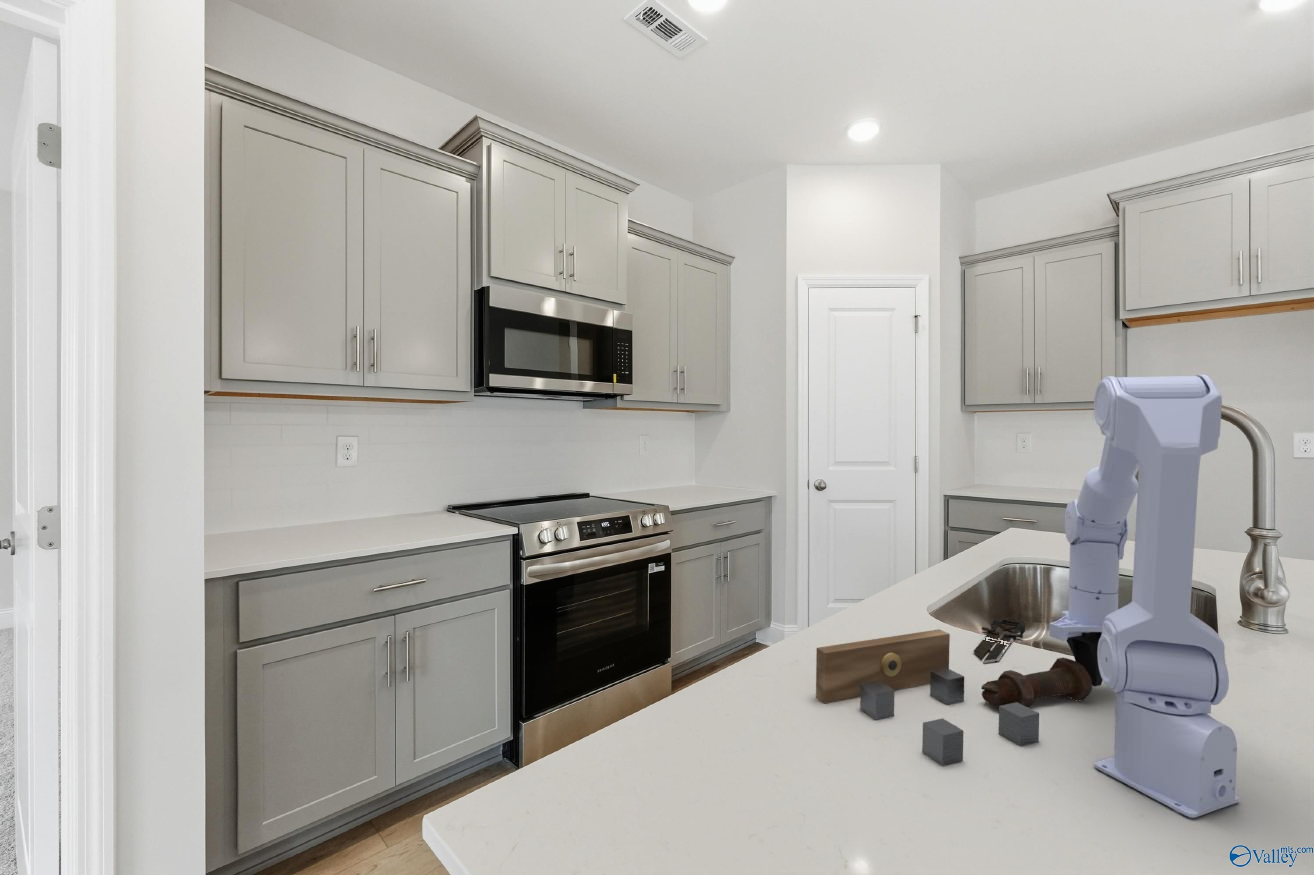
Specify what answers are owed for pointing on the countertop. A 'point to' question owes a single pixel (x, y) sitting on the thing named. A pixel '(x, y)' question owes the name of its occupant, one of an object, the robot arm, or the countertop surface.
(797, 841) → the countertop surface
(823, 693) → the aperture board
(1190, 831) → the countertop surface
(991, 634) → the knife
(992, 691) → the bolt
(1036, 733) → the gray stone cubes
